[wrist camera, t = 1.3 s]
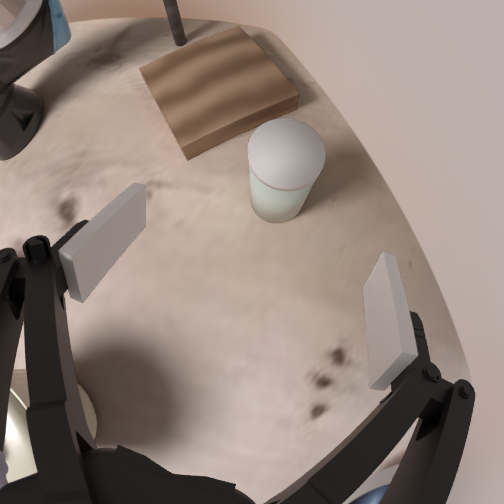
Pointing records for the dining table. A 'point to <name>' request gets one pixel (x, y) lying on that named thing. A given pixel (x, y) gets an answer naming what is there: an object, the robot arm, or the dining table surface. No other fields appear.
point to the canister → (17, 430)
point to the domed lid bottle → (283, 167)
